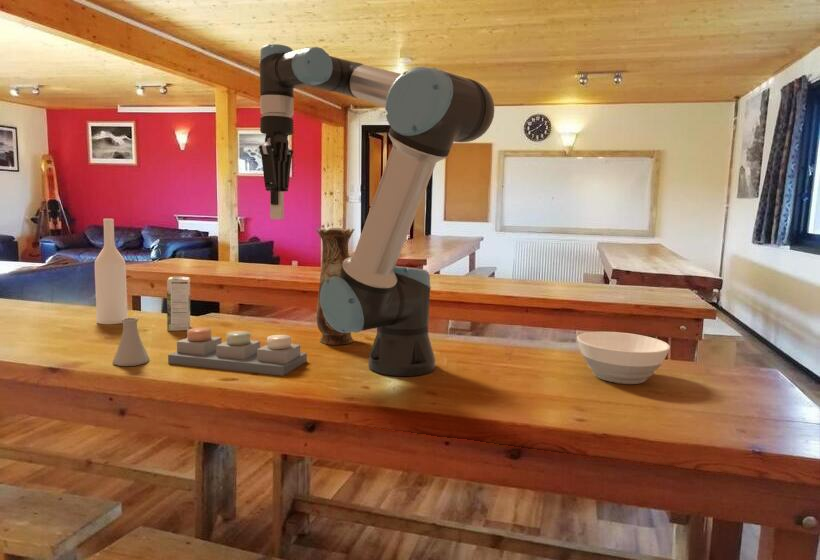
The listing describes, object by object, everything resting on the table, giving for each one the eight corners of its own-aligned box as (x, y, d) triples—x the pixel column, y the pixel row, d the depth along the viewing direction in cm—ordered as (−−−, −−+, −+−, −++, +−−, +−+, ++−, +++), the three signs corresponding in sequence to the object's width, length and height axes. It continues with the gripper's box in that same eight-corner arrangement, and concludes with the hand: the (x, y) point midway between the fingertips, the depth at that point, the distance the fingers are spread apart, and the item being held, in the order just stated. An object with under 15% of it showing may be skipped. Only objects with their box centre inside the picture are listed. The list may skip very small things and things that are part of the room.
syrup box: (168, 327, 168) (167, 276, 166) (191, 326, 170) (190, 276, 168) (167, 331, 163) (165, 279, 161) (190, 330, 165) (189, 279, 163)
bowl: (672, 374, 135) (675, 339, 134) (659, 397, 119) (663, 357, 118) (586, 360, 145) (589, 327, 144) (564, 380, 129) (566, 343, 127)
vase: (339, 348, 150) (340, 229, 146) (307, 341, 156) (307, 227, 152) (363, 340, 159) (365, 228, 155) (332, 334, 165) (333, 226, 161)
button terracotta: (215, 346, 138) (215, 328, 138) (203, 351, 133) (202, 333, 133) (196, 344, 140) (196, 326, 139) (182, 349, 135) (182, 331, 134)
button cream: (294, 354, 134) (294, 335, 133) (284, 359, 129) (284, 341, 128) (273, 352, 135) (273, 333, 134) (262, 357, 130) (262, 339, 129)
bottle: (123, 318, 178) (120, 218, 174) (131, 322, 172) (127, 219, 168) (93, 320, 173) (89, 218, 169) (100, 325, 167) (96, 219, 163)
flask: (135, 368, 128) (133, 323, 126) (105, 365, 129) (103, 320, 128) (155, 359, 135) (154, 316, 133) (127, 357, 136) (126, 314, 135)
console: (306, 361, 137) (306, 342, 136) (283, 375, 125) (283, 355, 125) (199, 350, 144) (199, 332, 143) (168, 363, 132) (167, 343, 131)
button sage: (254, 350, 136) (254, 332, 135) (243, 355, 131) (242, 337, 130) (234, 348, 137) (234, 330, 137) (222, 353, 132) (221, 335, 132)
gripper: (275, 120, 144) (275, 218, 147) (247, 112, 131) (248, 219, 134) (303, 120, 142) (303, 219, 145) (278, 112, 130) (278, 220, 133)
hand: (276, 219), depth 140 cm, fingers closed
